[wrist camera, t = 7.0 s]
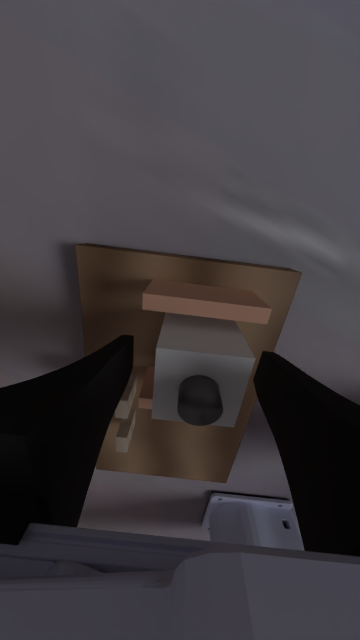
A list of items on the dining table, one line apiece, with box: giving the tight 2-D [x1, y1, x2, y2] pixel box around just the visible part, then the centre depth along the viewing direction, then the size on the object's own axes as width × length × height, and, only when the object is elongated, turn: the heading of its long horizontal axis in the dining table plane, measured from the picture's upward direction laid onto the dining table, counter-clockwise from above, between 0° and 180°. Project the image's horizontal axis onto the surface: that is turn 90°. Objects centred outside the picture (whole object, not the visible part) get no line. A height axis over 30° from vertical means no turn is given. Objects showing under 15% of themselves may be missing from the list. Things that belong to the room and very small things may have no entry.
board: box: [75, 243, 302, 483], centre depth 15 cm, size 13×21×4 cm, turn 173°
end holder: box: [138, 279, 272, 409], centre depth 12 cm, size 6×7×3 cm
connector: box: [151, 312, 255, 427], centre depth 11 cm, size 4×4×6 cm
